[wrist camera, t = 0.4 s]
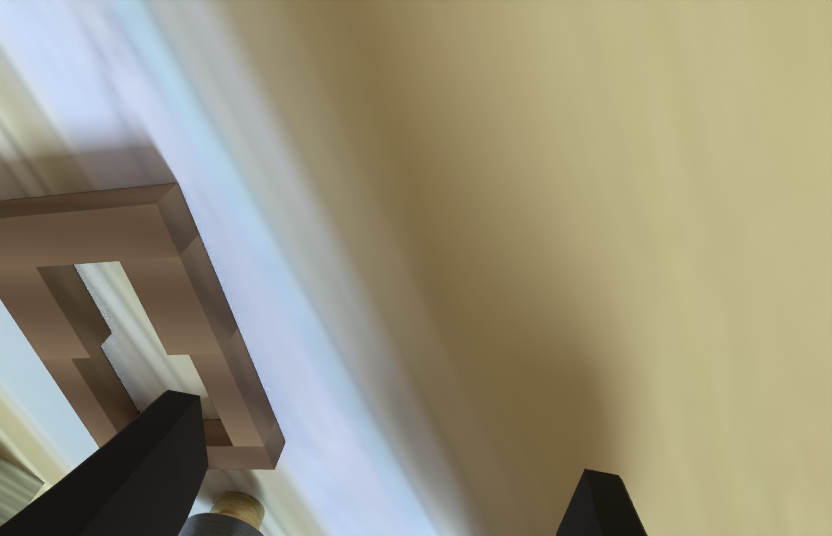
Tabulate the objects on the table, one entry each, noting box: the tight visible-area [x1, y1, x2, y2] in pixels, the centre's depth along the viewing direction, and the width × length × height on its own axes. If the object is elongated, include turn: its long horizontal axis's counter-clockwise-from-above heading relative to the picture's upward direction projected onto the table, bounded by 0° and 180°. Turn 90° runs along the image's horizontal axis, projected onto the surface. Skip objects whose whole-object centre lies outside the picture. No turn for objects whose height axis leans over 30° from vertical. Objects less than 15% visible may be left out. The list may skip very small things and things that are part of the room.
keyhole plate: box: [0, 183, 285, 470], centre depth 24 cm, size 13×8×2 cm, turn 10°
